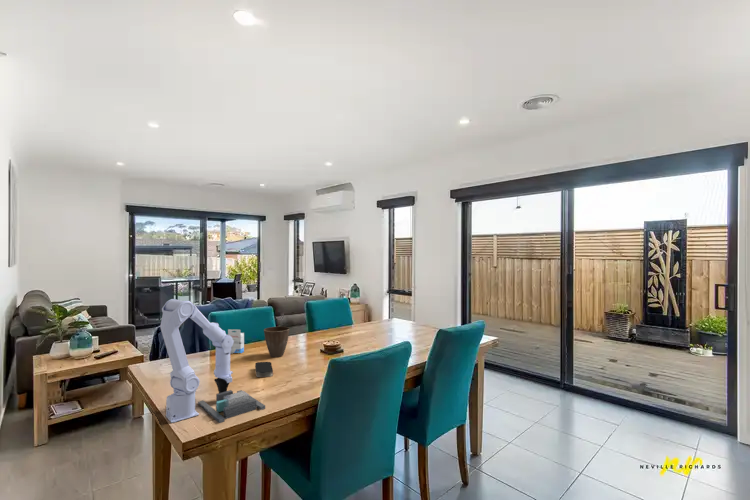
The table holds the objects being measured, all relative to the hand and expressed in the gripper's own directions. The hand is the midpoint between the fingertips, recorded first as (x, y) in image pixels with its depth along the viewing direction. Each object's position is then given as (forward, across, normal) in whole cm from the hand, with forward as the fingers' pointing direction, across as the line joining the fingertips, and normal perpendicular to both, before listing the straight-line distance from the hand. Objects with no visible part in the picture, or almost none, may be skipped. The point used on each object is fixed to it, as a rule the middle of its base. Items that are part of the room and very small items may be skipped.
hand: (222, 395), depth 151 cm
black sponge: (+2, +20, -29) cm, 36 cm away
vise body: (+2, -9, 0) cm, 9 cm away
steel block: (+2, -14, 0) cm, 14 cm away
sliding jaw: (+2, -6, 0) cm, 6 cm away
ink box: (+2, +66, -34) cm, 75 cm away
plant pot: (+2, +44, -49) cm, 66 cm away
